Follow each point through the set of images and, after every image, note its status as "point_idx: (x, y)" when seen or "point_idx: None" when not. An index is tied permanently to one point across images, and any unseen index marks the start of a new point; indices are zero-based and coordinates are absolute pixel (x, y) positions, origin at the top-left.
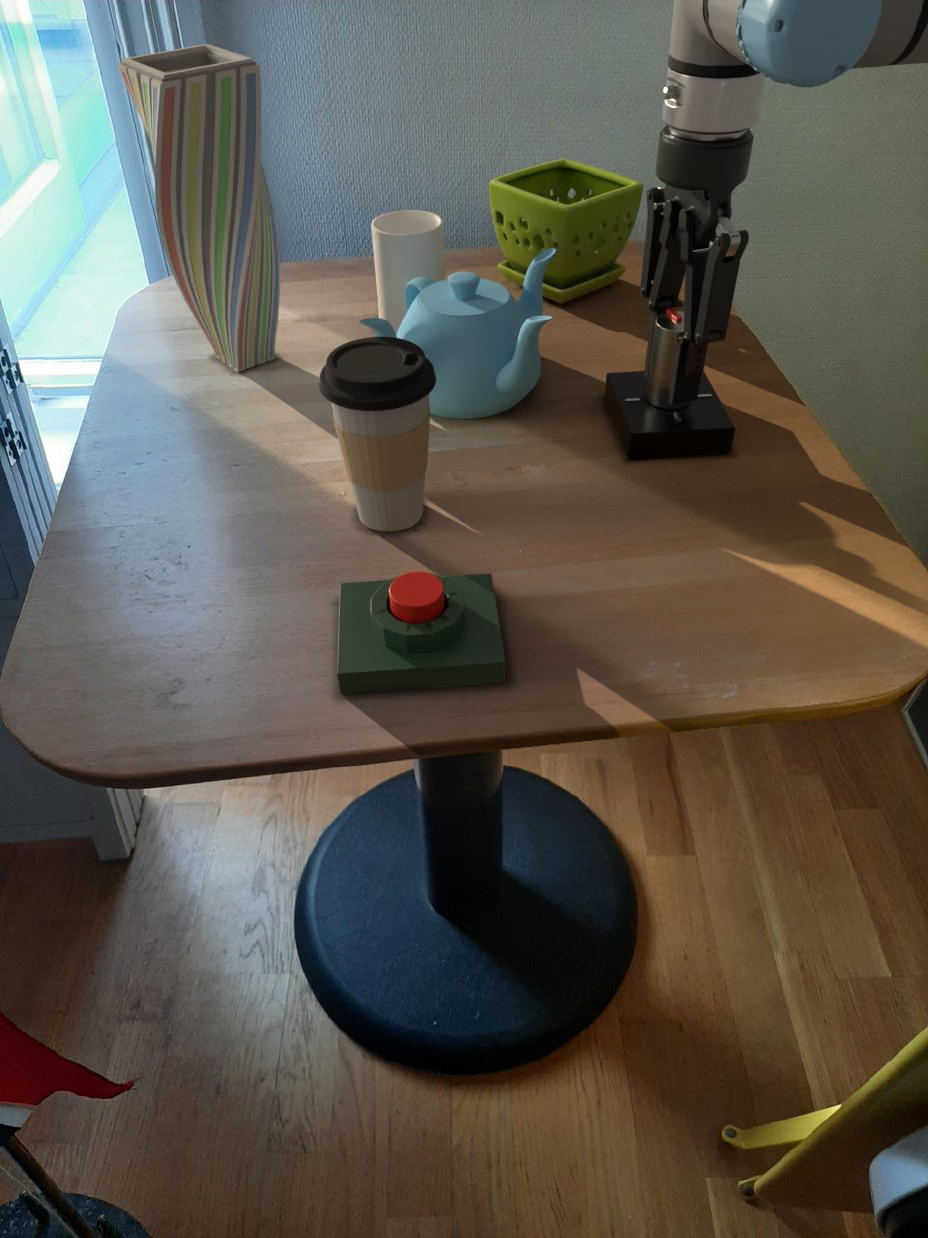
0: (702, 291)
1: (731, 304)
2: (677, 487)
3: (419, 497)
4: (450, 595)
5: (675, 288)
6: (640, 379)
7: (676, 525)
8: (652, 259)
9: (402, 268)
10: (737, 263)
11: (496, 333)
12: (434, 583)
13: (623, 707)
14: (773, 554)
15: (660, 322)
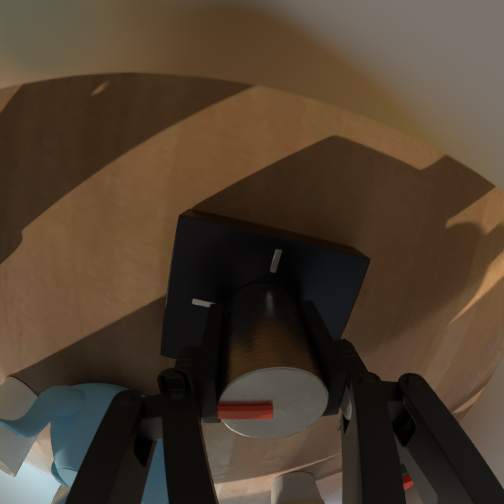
0: (419, 492)
1: (459, 426)
2: (376, 329)
3: (314, 487)
4: (408, 473)
5: (202, 440)
6: (190, 325)
7: (414, 347)
8: (138, 499)
9: (24, 455)
10: (502, 496)
11: (159, 488)
12: (407, 483)
13: (474, 397)
14: (471, 288)
15: (264, 435)
